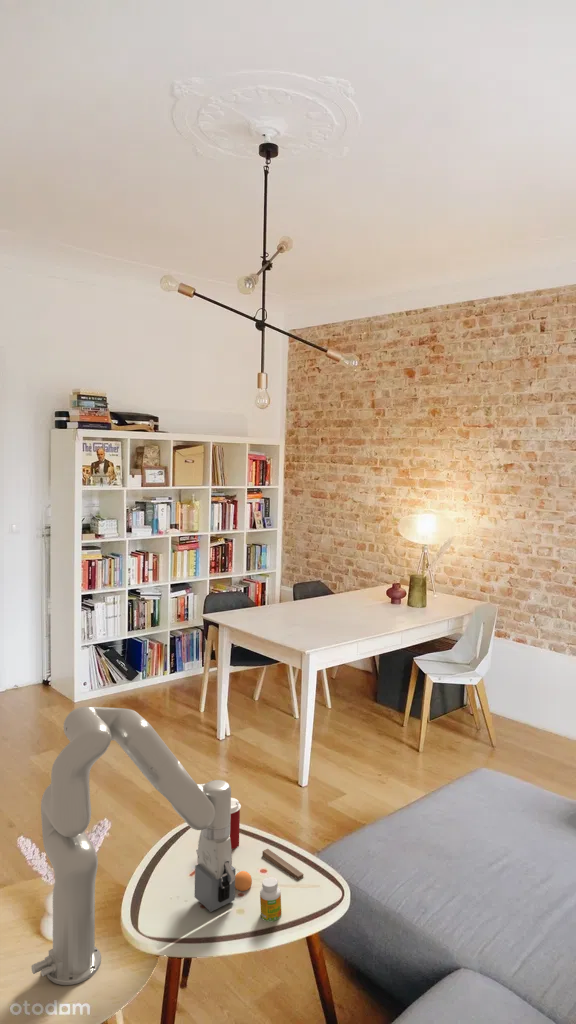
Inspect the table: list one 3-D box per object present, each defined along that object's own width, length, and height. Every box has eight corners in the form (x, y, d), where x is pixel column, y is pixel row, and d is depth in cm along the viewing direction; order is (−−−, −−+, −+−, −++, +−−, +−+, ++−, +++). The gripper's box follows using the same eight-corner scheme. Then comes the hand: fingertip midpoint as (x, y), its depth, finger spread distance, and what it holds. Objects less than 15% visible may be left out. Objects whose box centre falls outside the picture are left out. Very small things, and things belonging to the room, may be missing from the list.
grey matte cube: (210, 911, 177) (211, 879, 176) (194, 896, 183) (195, 865, 182) (234, 900, 182) (235, 868, 181) (218, 885, 188) (218, 855, 187)
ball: (256, 874, 188) (253, 892, 188) (245, 866, 192) (243, 884, 192) (242, 878, 185) (239, 896, 185) (231, 869, 189) (228, 887, 188)
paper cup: (244, 839, 212) (242, 796, 211) (240, 854, 205) (238, 810, 203) (219, 839, 213) (217, 796, 212) (214, 853, 206) (212, 809, 204)
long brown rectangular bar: (297, 885, 191) (298, 876, 191) (262, 858, 203) (262, 850, 203) (303, 882, 193) (303, 873, 192) (267, 856, 205) (267, 848, 204)
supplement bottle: (267, 927, 174) (266, 891, 173) (257, 915, 178) (255, 880, 177) (285, 918, 177) (284, 883, 176) (274, 907, 181) (273, 872, 180)
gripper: (186, 819, 185) (185, 881, 186) (223, 848, 172) (222, 914, 173) (209, 811, 190) (207, 871, 191) (247, 838, 177) (245, 902, 178)
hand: (214, 891), depth 182 cm, fingers closed on grey matte cube, 7 cm apart
